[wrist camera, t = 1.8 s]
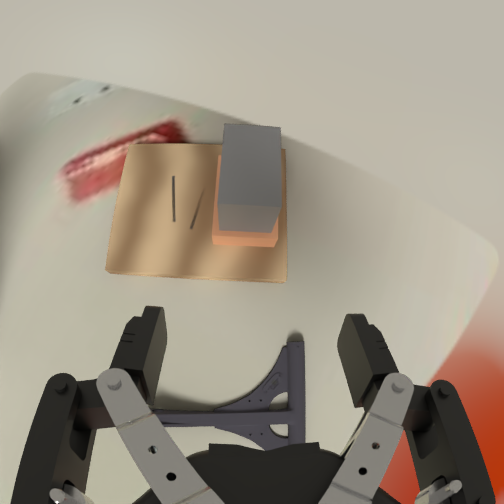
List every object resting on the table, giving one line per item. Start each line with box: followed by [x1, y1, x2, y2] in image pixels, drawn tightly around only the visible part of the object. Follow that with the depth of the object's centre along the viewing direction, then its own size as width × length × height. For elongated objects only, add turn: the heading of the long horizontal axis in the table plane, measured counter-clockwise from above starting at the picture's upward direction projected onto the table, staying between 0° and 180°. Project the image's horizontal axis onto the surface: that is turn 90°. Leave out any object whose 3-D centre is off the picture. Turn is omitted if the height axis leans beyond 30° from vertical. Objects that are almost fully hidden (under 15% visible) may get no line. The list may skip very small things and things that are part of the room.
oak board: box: [105, 144, 287, 283], centre depth 30 cm, size 17×14×2 cm
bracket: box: [150, 341, 305, 451], centre depth 25 cm, size 14×15×3 cm
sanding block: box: [212, 124, 282, 247], centre depth 26 cm, size 6×8×8 cm
